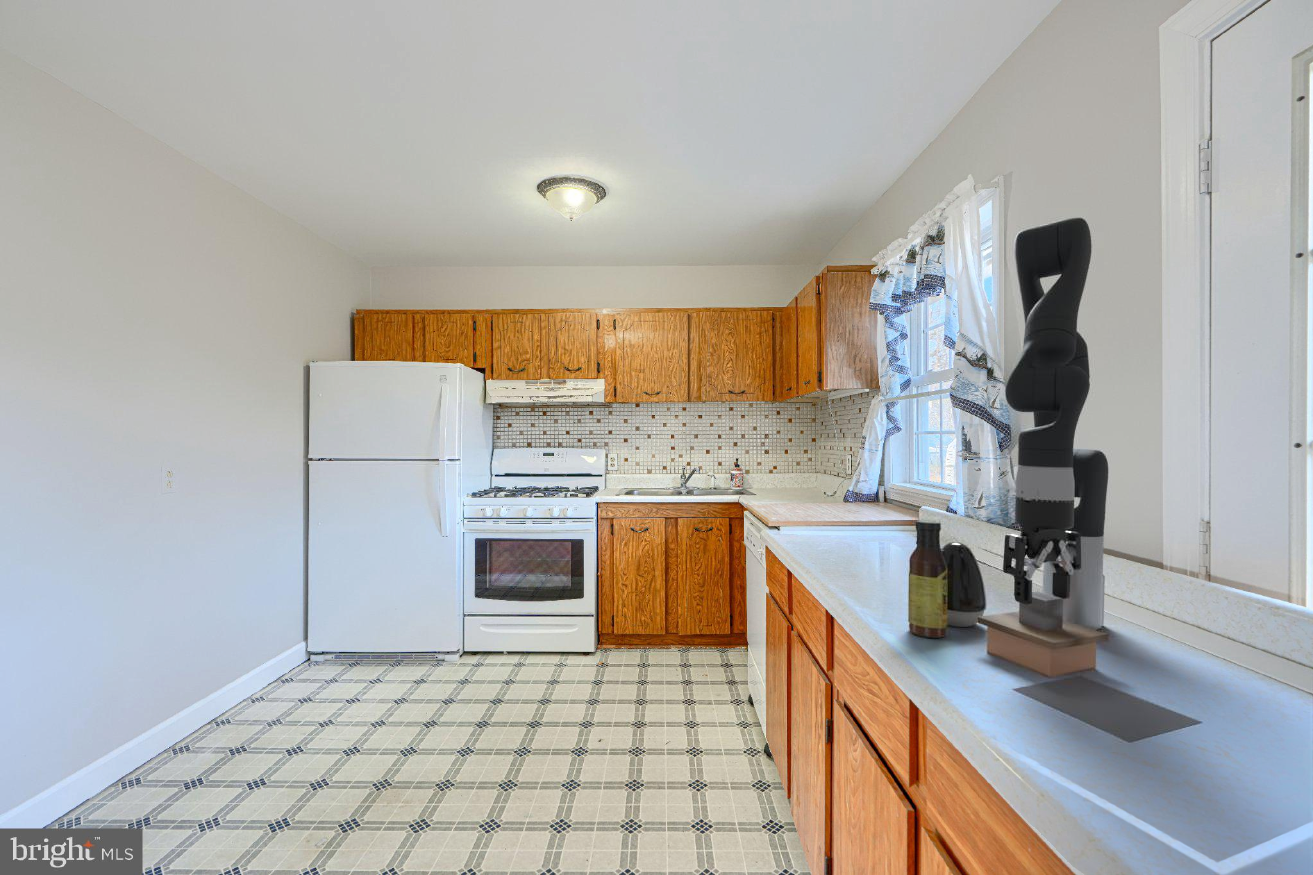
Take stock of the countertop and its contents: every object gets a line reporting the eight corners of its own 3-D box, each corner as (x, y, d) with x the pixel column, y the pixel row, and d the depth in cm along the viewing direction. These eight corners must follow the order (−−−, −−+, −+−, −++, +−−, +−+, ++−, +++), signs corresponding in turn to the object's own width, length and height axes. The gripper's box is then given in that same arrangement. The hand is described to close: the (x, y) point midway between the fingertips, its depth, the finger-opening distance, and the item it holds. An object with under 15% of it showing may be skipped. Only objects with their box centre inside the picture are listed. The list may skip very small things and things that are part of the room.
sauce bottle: (951, 641, 96) (954, 525, 96) (912, 637, 97) (915, 523, 97) (940, 628, 103) (942, 519, 103) (903, 625, 104) (906, 518, 104)
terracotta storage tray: (1030, 648, 94) (1030, 618, 94) (1095, 672, 84) (1096, 639, 84) (986, 655, 90) (987, 624, 90) (1049, 681, 81) (1050, 646, 81)
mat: (1080, 679, 82) (1080, 675, 82) (1202, 726, 69) (1202, 722, 69) (1012, 693, 77) (1012, 688, 77) (1129, 747, 64) (1129, 741, 64)
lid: (1029, 615, 95) (1030, 583, 95) (1108, 640, 84) (1108, 603, 84) (977, 622, 91) (978, 588, 91) (1053, 649, 79) (1054, 610, 79)
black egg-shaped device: (916, 612, 112) (918, 536, 112) (972, 615, 111) (974, 538, 111) (934, 629, 102) (936, 545, 102) (996, 633, 101) (998, 548, 101)
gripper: (1050, 492, 93) (1048, 589, 93) (989, 494, 88) (987, 597, 88) (1100, 497, 86) (1098, 602, 86) (1036, 499, 81) (1034, 612, 81)
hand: (1042, 600), depth 87 cm, fingers open, 8 cm apart
